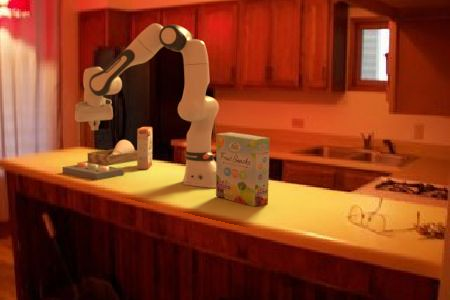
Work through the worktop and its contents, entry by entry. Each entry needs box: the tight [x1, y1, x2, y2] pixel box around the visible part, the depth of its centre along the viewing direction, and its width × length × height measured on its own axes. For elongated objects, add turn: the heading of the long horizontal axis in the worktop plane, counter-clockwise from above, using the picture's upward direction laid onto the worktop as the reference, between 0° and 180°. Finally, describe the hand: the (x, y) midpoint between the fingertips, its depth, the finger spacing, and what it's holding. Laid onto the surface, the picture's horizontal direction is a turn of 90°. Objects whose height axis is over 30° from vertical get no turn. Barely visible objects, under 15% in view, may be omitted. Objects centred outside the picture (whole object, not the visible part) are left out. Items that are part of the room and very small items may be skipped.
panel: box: [62, 162, 125, 181], centre depth 239 cm, size 26×16×3 cm, turn 53°
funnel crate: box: [87, 148, 137, 166], centre depth 279 cm, size 17×25×5 cm
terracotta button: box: [76, 161, 89, 168], centre depth 244 cm, size 5×5×4 cm
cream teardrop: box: [109, 139, 136, 156], centre depth 279 cm, size 12×12×18 cm
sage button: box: [88, 163, 99, 169], centre depth 239 cm, size 5×5×4 cm
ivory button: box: [98, 165, 110, 172], centre depth 235 cm, size 5×5×4 cm
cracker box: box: [136, 126, 153, 170], centre depth 259 cm, size 14×6×21 cm, turn 179°
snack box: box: [215, 131, 271, 208], centre depth 191 cm, size 22×9×26 cm, turn 45°
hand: (94, 130), depth 237 cm, fingers closed
